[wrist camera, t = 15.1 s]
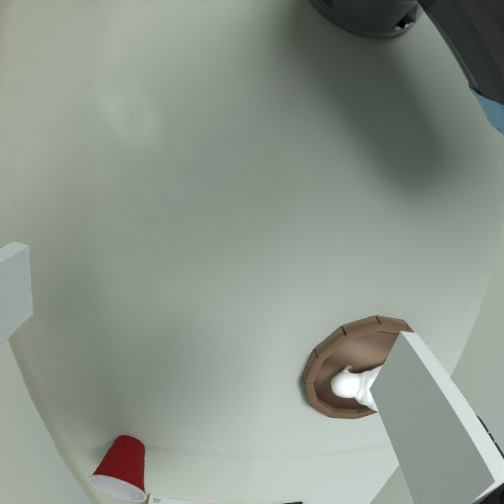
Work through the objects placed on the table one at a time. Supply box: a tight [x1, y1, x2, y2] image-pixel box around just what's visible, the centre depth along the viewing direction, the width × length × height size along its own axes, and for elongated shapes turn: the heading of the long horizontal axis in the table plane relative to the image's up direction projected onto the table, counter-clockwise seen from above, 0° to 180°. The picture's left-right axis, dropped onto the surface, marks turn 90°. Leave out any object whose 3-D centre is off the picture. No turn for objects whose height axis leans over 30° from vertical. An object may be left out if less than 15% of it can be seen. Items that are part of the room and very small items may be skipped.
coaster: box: [303, 315, 414, 419], centre depth 42 cm, size 18×18×2 cm
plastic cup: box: [88, 436, 147, 502], centre depth 44 cm, size 11×11×12 cm
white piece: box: [331, 365, 383, 412], centre depth 39 cm, size 6×8×12 cm
